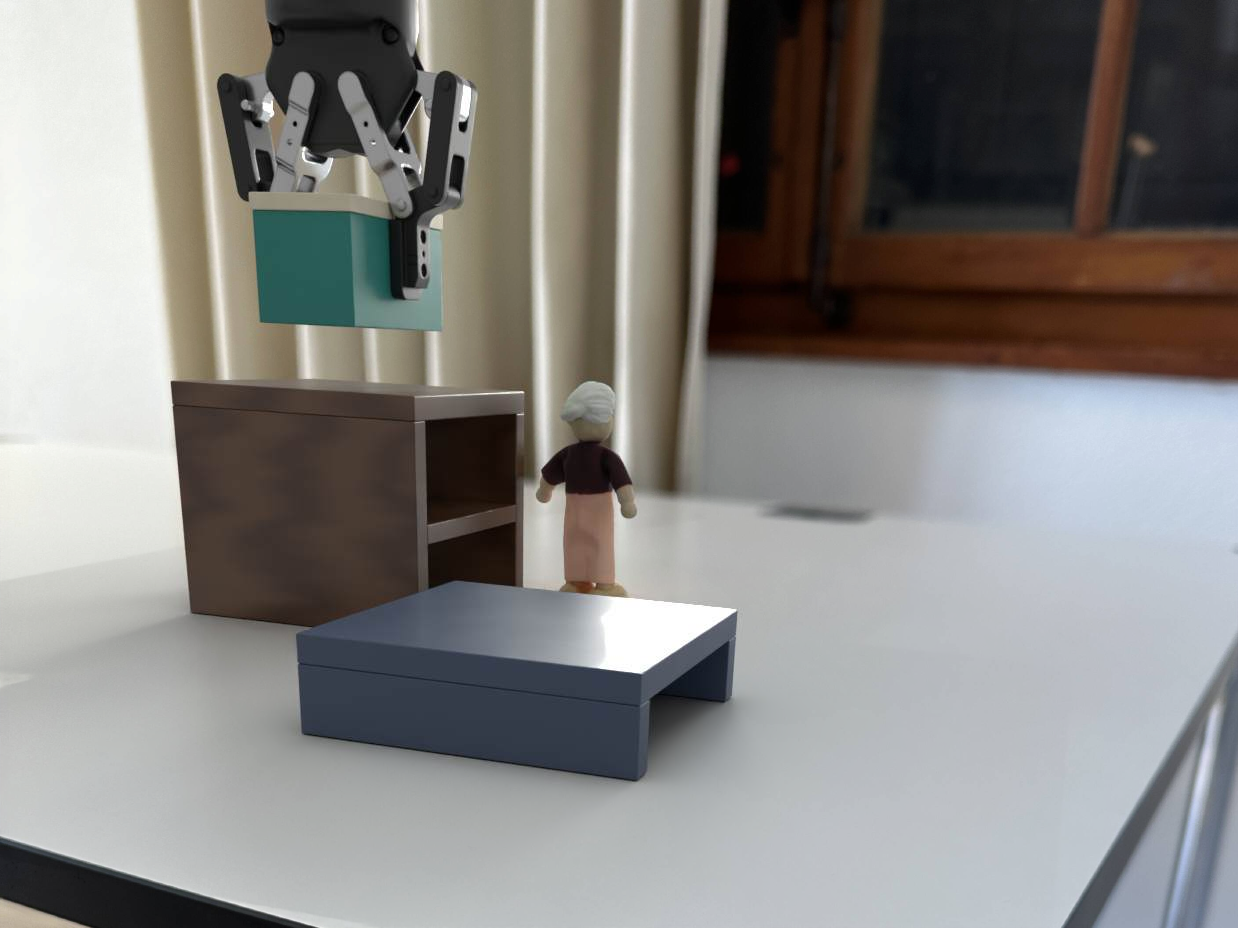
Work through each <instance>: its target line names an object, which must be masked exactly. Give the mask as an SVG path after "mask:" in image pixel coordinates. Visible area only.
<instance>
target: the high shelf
mask: <svg viewBox="0 0 1238 928" xmlns="http://www.w3.org/2000/svg"><path fill="white" fill-rule="evenodd" d="M170 393H171V403H172V406H171V407H172V416H173V417H172V418H173V429H174V438H175V449H176V450H175V452H176V463H177V464H176V465H177V472H178V473H177V474H178V475H177V476H178V484H179V485H178V486H179V496H180V508H181V519H182V532H183V543H184V552H185V553H184V555H185V564H186V565H185V566H186V575H187V587H188V588H187V589H188V596H189V610H190V613H194V614H202V615H203V614H204V615H211V616H219V617H220V616H221V617H229V618H237V619H244V620H245V619H246V620H253V621H254V620H255V621H263V622H264V621H265V622H273V623H280V624H289V625H298V626H307V627H312V628H313V627H316V626H319V625H322V624H325V623H328V622H331V621H334V620H337V619H340V618H344V617H347V616H350V615H353V614H356V613H359V612H362V611H365V610H368V609H371V608H374V607H377V606H380V605H383V604H386V603H389V602H392V601H395V600H398V599H401V598H404V597H407V596H410V595H413V594H416V593H419V592H422V591H425V590H428V589H431V588H434V587H437V586H440V585H444V584H447V583H450V582H453V581H464V582H474V583H484V584H493V585H503V586H513V587H523V588H524V520H525V519H524V517H525V516H524V511H525V508H524V507H525V506H524V505H525V504H524V503H525V501H524V498H525V497H524V495H525V493H524V491H525V392H524V390H523V391H520V390H503V389H492V388H491V389H489V388H474V387H473V388H472V387H455V386H440V385H439V386H438V385H426V384H425V385H423V384H409V383H408V384H407V383H406V384H405V383H392V382H391V383H389V382H376V381H375V382H373V381H360V380H359V381H357V380H342V379H341V380H339V379H324V378H281V379H280V378H271V379H270V378H268V379H267V378H265V379H259V378H258V379H195V380H193V379H191V380H190V379H189V380H187V379H186V380H183V379H181V380H170Z"/></svg>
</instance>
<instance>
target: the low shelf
mask: <svg viewBox="0 0 1238 928" xmlns="http://www.w3.org/2000/svg"><path fill="white" fill-rule="evenodd" d="M738 612H739V611H738V609H735V608H727V607H726V608H725V607H716V606H705V605H697V604H688V603H687V604H686V603H678V602H677V603H676V602H666V601H657V600H647V599H639V598H630V597H628V598H620V597H610V596H600V595H590V594H581V593H571V592H561V591H559V590H553V589H552V590H551V589H541V588H531V587H530V588H529V587H524V586H523V587H513V586H503V585H493V584H484V583H474V582H464V581H453V582H450V583H447V584H444V585H440V586H437V587H434V588H431V589H428V590H425V591H422V592H419V593H416V594H413V595H410V596H407V597H404V598H401V599H398V600H395V601H392V602H389V603H386V604H383V605H380V606H377V607H374V608H371V609H368V610H365V611H362V612H359V613H356V614H353V615H350V616H347V617H344V618H340V619H337V620H334V621H331V622H328V623H325V624H322V625H319V626H316V627H313V626H312V627H311V628H307V629H304V630H302V631H298V632H296V633H295V641H296V644H295V645H296V659H297V677H298V678H297V679H298V693H299V694H298V697H299V711H300V714H299V715H300V729H301V730H300V731H301V733H302V734H305V735H310V736H311V735H312V736H320V737H325V738H333V739H339V740H340V739H341V740H347V741H354V742H362V743H370V744H376V745H383V746H390V747H397V748H404V749H411V750H419V751H426V752H431V753H439V754H446V755H454V756H461V757H467V758H474V759H483V760H489V761H495V762H496V761H497V762H504V763H510V764H517V765H525V766H531V767H539V768H546V769H553V770H560V771H566V772H567V771H568V772H575V773H582V774H589V775H596V776H603V777H610V778H615V779H616V778H617V779H624V780H631V781H638V780H639V779H640V778H642V776H644V775H645V774H646V773H647V771H648V753H649V733H650V731H649V729H650V709H651V708H650V707H651V700H650V699H652V698H653V697H654V696H656V695H657V694H659V695H668V696H675V697H684V698H691V699H700V700H707V701H717V702H723V703H724V702H727V701H728V700H729V699H730V698H732V696H733V687H734V686H733V685H734V670H735V657H736V641H737V636H736V635H737V628H738V627H737V626H738V625H737V624H738Z"/></svg>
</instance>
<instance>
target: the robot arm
mask: <svg viewBox="0 0 1238 928" xmlns="http://www.w3.org/2000/svg"><path fill="white" fill-rule="evenodd" d="M264 12H265V19H266V22H267V25H268V28H269V33H270V37H271V47H270V53H269V56H268V60H267V62H266V65H265V71H261V72H256V73H252V74H248V75H243V76H240V75H236V74H235V75H234V74H231V73H228V72H225V73H222V74H220V76H218V79H217V81H216V90H217V95H218V100H219V105H220V110H221V115H222V120H223V125H224V130H225V135H226V140H227V146H228V150H229V156H230V161H231V165H232V170H233V176H234V182H235V186H236V192H237V194H238V196H239V198H240V199H241V200H242V201H244V202H247V203H249V192H303V193H319V189H320V186H321V183H322V182H323V181H324V180H326V179H327V177H328V176H329V174H330V171H331V168H332V164H333V162H334V161H333V160H334V159H347V158H350V157H353V156H356V155H358V156H361V157H364V158H366V159H367V161H368V163H369V166H370V169H371V170H372V171H373V173H374V174H375V175H376V176H377V177H378V179H379V181H380V183H381V187H382V189H383V192H384V194H385V196H386V200H387V202H389V204H390V207H391V210H392V212H393V214H394V215H395V216H396V221H394V220H389V240H390V274H391V293H392V296H393V298H394V299H399V300H413V301H419V300H420V299H421V296H422V289H427V287H428V284H429V281H430V267H429V266H430V259H429V257H430V246H429V227H430V223H431V221H432V219H433V218H434V217H435V216H436V215H438V214H441V215H442V214H443V213H446V212H448V211H449V210H452V211H456V210H458V209H460V208H461V207H462V205H463V204H464V201H465V194H466V186H467V179H468V170H469V163H470V156H471V149H472V139H473V132H474V124H475V117H476V109H477V103H478V89H477V86H476V84H475V83H474V82H473V81H471V80H469V79H467V78H465V77H463V76H460V75H458V74H456V73H454V72H452V71H450V70H441V71H440V72H438V73H435V72H431V71H427V70H426V71H425V68H424V66H423V64H422V62H421V58H420V57H419V53H418V48H417V42H418V36H419V31H420V19H419V18H420V17H419V16H420V13H419V0H264ZM422 99H423V100H422ZM274 100H275V102H276V103H277V105H278V107H279V109H280V110H281V112H282V114H283V115H284V116H285V118H284V121H283V125H282V127H281V131H280V135H279V138H278V142H277V146H276V148H274V142H273V137H272V133H271V127H270V120H271V119H272V118H273V117H274V115H275V112H274V109H273V102H274ZM421 100H422V101H423V109H424V113H425V116H426V117H427V118H428V119H429V126H428V127H429V128H428V135H427V145H426V153H425V159H424V163H425V164H424V171H423V177H422V175H421V171H422V165H421V161H420V159H419V157H418V154H417V152H416V149H415V146H414V143H413V141H412V138H411V135H410V132H409V130H408V127H407V125H408V123H409V122H410V120H411V118H412V116H413V115H414V113H415V111H416V109H417V107H418V105H419V103H420V101H421ZM306 149H307V150H306ZM305 150H306V151H305Z"/></svg>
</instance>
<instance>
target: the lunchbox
mask: <svg viewBox="0 0 1238 928" xmlns="http://www.w3.org/2000/svg"><path fill="white" fill-rule="evenodd" d="M248 206H249V207H248V208H249V210H251V211H252V224H253V239H254V253H255V271H256V283H257V284H256V286H257V299H258V312H259V313H258V317H259V322H260V324H261V323H262V324H263V323H264V324H281V325H299V326H314V327H315V326H317V327H335V328H337V327H338V328H353V329H354V328H355V329H378V330H397V331H399V330H400V331H418V332H419V331H422V332H441V333H442V332H443V290H442V289H443V287H442V286H443V284H442V283H443V280H442V279H443V278H442V239H441V238H442V233H441V231H443V230H444V215H443V214H442V213H441V214H438V215H436V216H435V217H434V218H433V219H432V221H431V223H430V227H429V246H430V257H429V259H430V266H429V267H430V281H429V284H428V287H427V289H422V296H421V299H420V300H419V301H413V300H399V299H394V298H393V296H392V293H391V274H390V240H389V220H394V221H396V216H395V215H394V214H393V212H392V210H391V207H390V204H389V202H388V201H385V200H381V199H376V198H372V197H367V196H363V195H360V194H355V193H350V192H318V193H303V192H249V202H248Z"/></svg>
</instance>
